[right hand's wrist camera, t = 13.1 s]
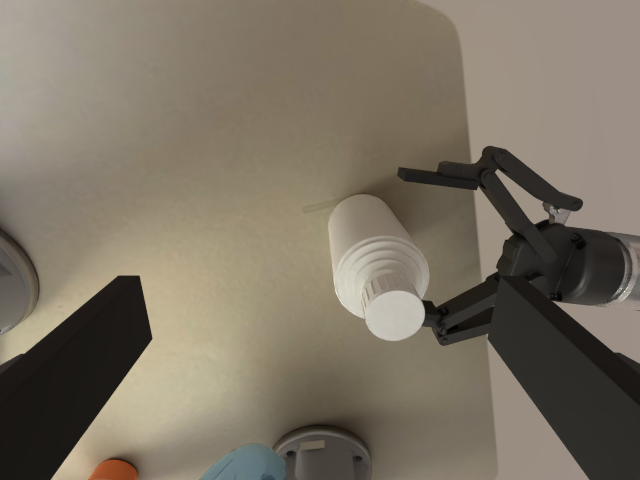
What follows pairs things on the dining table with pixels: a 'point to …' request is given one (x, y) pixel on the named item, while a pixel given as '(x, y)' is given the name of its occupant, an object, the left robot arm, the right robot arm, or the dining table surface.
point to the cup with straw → (114, 471)
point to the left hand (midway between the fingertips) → (386, 243)
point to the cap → (392, 307)
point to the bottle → (370, 249)
